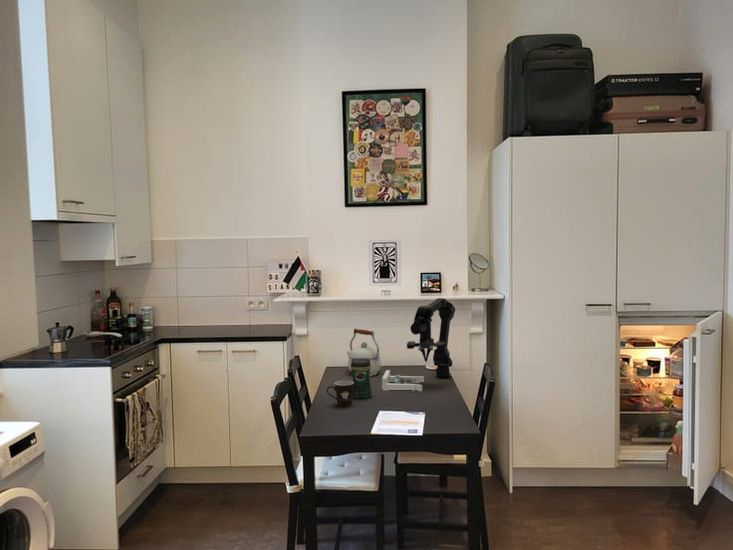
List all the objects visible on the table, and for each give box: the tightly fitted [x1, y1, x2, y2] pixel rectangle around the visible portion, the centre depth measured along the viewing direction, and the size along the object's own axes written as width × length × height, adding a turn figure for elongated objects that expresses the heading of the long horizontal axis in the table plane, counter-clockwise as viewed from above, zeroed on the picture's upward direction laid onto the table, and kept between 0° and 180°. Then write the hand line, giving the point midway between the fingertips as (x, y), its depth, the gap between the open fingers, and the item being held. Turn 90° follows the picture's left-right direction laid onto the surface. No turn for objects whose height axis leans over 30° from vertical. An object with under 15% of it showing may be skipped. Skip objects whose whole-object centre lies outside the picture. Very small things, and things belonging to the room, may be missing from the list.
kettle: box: [346, 328, 382, 377], centre depth 299 cm, size 25×18×25 cm
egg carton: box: [398, 377, 414, 384], centre depth 271 cm, size 11×8×4 cm
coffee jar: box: [350, 358, 373, 399], centre depth 254 cm, size 10×8×19 cm
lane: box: [381, 369, 425, 392], centre depth 271 cm, size 20×18×6 cm
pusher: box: [394, 374, 401, 384], centre depth 272 cm, size 1×12×5 cm, turn 171°
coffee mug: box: [326, 380, 354, 408], centre depth 242 cm, size 12×9×10 cm
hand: (426, 361), depth 271 cm, fingers closed
